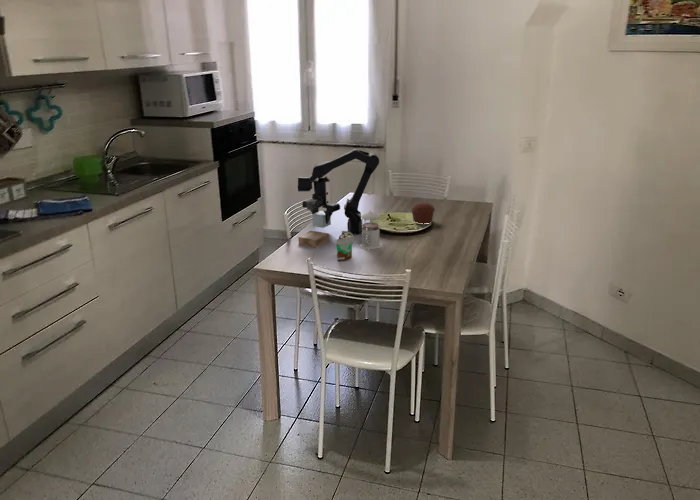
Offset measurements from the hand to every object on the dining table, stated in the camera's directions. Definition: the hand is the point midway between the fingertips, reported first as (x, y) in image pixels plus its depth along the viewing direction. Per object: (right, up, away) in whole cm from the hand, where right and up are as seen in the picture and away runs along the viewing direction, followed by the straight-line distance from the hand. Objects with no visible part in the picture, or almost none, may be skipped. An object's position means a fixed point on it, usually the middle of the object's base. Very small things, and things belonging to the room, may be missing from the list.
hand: (321, 222), depth 276 cm
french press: (+22, -11, -16) cm, 30 cm away
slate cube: (0, -1, 0) cm, 1 cm away
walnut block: (-3, -10, -11) cm, 15 cm away
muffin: (+50, +1, +13) cm, 51 cm away
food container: (+12, -16, -30) cm, 36 cm away
